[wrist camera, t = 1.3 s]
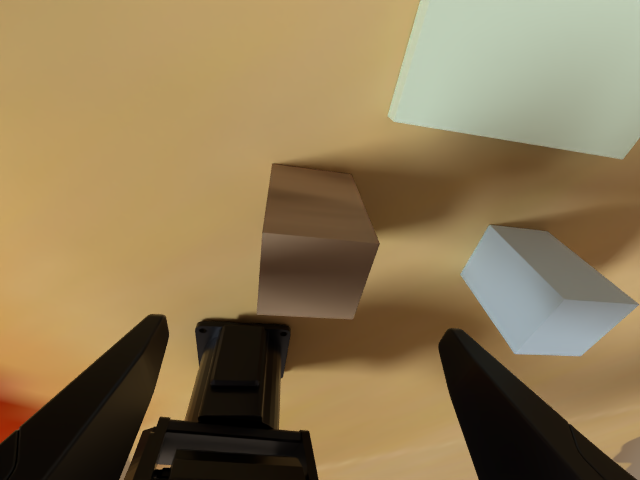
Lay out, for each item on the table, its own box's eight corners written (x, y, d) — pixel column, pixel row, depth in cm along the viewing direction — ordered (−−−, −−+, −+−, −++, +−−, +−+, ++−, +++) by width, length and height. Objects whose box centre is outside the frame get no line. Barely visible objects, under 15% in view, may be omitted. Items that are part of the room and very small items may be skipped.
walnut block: (335, 237, 17) (352, 319, 12) (266, 231, 17) (256, 314, 12) (351, 173, 15) (379, 243, 10) (272, 163, 14) (262, 232, 10)
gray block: (512, 278, 21) (580, 356, 16) (460, 274, 20) (514, 353, 15) (546, 230, 18) (639, 304, 13) (489, 224, 18) (564, 299, 13)
